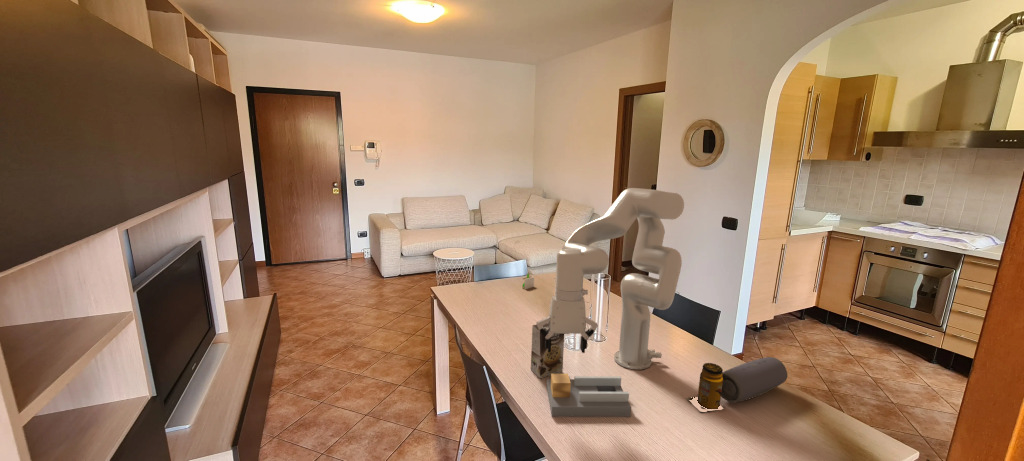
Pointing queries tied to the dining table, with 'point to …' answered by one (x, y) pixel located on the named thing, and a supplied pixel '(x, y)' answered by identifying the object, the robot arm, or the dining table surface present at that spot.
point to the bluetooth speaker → (752, 379)
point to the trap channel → (591, 398)
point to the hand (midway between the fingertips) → (565, 350)
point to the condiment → (710, 386)
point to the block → (560, 385)
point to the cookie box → (546, 353)
